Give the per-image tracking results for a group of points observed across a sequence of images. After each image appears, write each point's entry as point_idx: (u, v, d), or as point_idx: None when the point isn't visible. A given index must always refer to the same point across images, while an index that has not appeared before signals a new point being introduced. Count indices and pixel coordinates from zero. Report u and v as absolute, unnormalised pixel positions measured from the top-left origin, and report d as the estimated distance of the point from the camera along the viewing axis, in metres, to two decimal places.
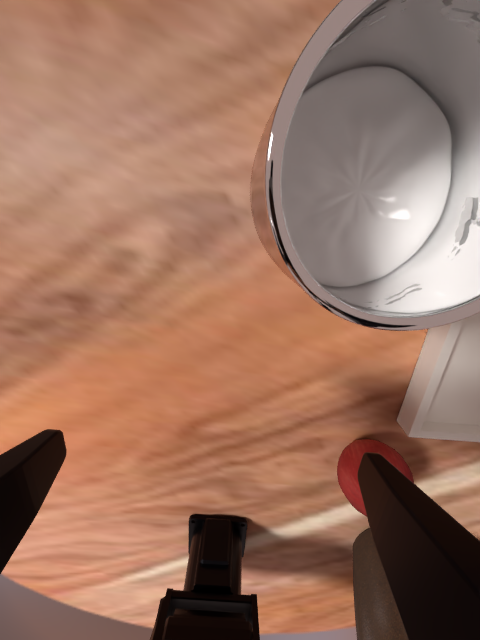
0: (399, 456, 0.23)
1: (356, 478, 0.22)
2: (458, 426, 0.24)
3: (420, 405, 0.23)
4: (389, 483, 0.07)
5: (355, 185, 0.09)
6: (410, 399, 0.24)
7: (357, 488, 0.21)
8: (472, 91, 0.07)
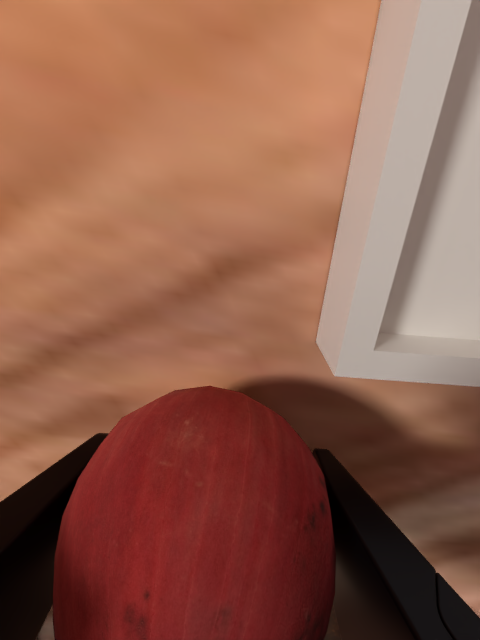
0: (283, 439, 0.06)
1: (64, 536, 0.05)
2: None
3: (367, 241, 0.06)
4: (329, 479, 0.07)
5: None
6: (342, 249, 0.07)
7: (53, 586, 0.05)
8: None
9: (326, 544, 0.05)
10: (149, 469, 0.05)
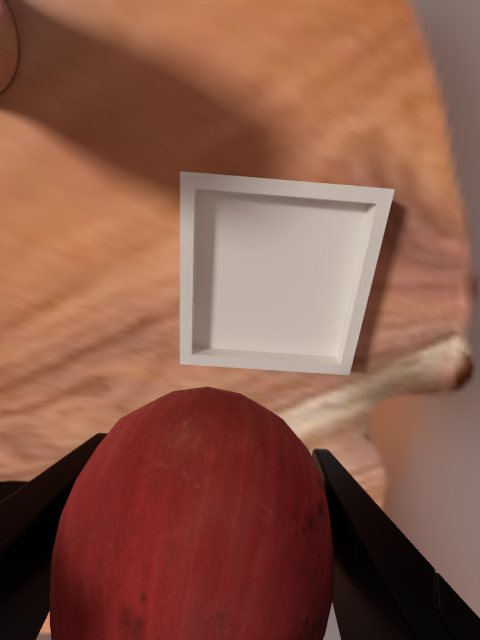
0: (281, 441, 0.06)
1: (61, 538, 0.05)
2: (248, 352, 0.20)
3: (181, 319, 0.18)
4: (329, 479, 0.07)
5: None
6: None
7: (50, 589, 0.05)
8: None
9: (324, 546, 0.05)
10: (147, 471, 0.05)
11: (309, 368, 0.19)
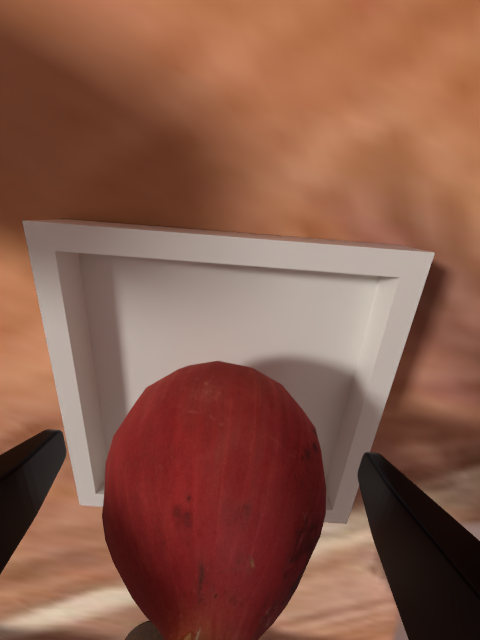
0: (282, 397, 0.07)
1: (112, 473, 0.06)
2: None
3: (70, 447, 0.11)
4: (389, 483, 0.07)
5: None
6: None
7: (107, 511, 0.06)
8: None
9: (318, 472, 0.06)
10: (181, 416, 0.06)
11: None
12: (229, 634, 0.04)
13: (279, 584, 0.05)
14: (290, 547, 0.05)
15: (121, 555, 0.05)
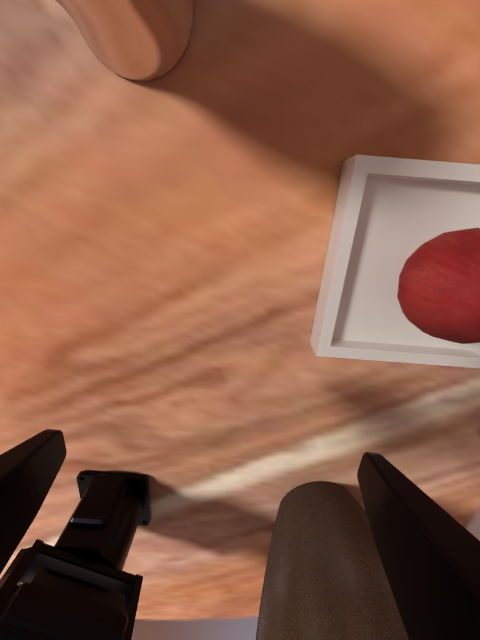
0: None
1: (444, 263, 0.13)
2: (382, 345, 0.19)
3: (326, 310, 0.18)
4: (389, 483, 0.07)
5: None
6: (319, 308, 0.19)
7: (446, 277, 0.12)
8: None
9: None
10: None
11: (449, 361, 0.19)
12: None
13: None
14: None
15: (469, 285, 0.12)
